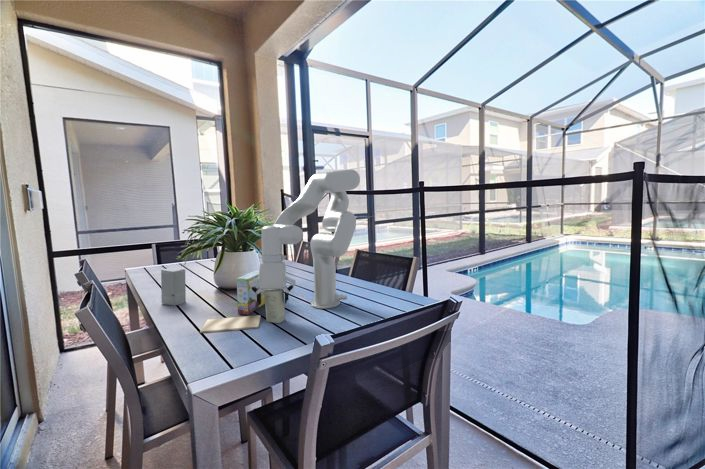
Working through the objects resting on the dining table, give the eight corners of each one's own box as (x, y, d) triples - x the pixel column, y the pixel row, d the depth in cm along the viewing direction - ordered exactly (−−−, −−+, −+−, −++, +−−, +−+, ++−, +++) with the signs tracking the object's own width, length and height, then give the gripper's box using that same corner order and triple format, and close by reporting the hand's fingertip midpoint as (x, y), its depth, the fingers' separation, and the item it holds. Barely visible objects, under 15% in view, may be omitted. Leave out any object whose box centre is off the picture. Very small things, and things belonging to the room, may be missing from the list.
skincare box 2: (285, 319, 133) (284, 289, 131) (279, 323, 129) (277, 292, 127) (272, 317, 135) (271, 287, 134) (265, 321, 131) (263, 290, 130)
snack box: (249, 315, 139) (248, 278, 137) (237, 314, 140) (235, 278, 138) (272, 299, 160) (270, 267, 158) (261, 298, 161) (259, 267, 159)
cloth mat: (260, 316, 137) (260, 315, 137) (258, 327, 125) (258, 326, 125) (207, 320, 133) (207, 319, 133) (200, 333, 121) (199, 331, 121)
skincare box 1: (161, 304, 155) (158, 270, 153) (174, 299, 161) (172, 266, 160) (175, 306, 152) (172, 271, 150) (188, 301, 158) (185, 268, 156)
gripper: (295, 256, 134) (295, 299, 136) (249, 257, 131) (250, 301, 133) (295, 259, 127) (296, 304, 128) (247, 261, 124) (248, 307, 125)
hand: (272, 303), depth 131 cm, fingers open, 9 cm apart
